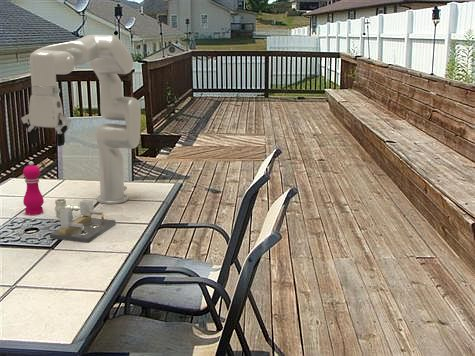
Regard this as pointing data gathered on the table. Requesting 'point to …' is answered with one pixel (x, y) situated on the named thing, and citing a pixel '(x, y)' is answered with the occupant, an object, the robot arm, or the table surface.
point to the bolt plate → (80, 227)
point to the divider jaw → (89, 209)
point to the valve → (63, 206)
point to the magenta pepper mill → (32, 190)
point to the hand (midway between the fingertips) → (47, 144)
